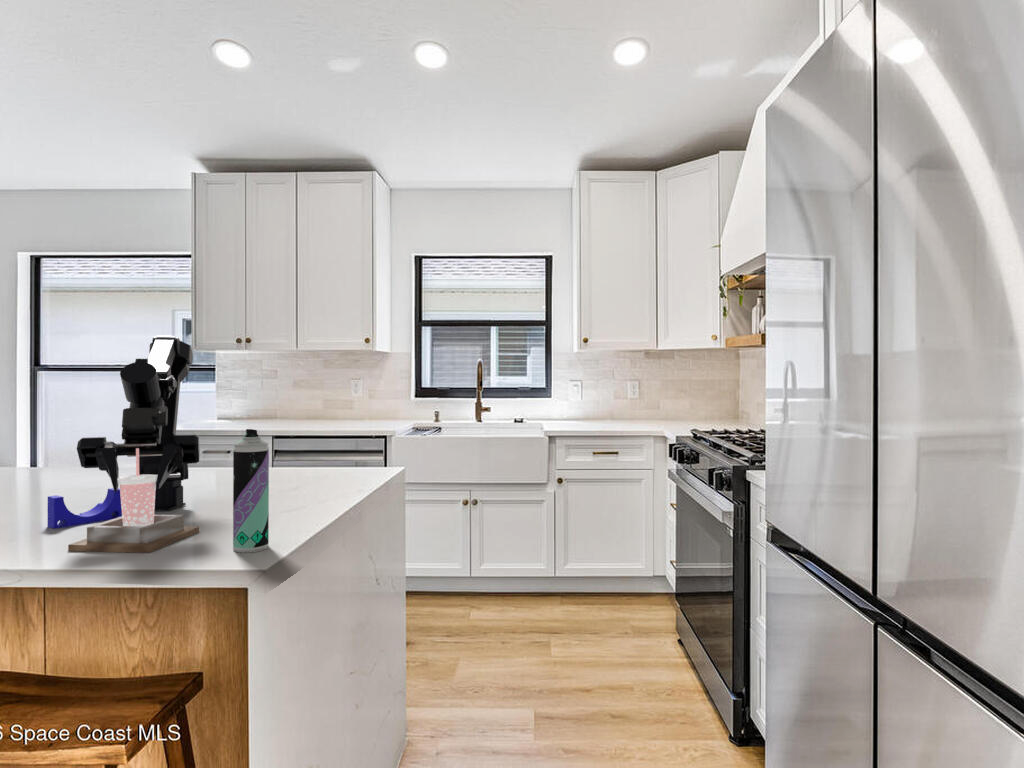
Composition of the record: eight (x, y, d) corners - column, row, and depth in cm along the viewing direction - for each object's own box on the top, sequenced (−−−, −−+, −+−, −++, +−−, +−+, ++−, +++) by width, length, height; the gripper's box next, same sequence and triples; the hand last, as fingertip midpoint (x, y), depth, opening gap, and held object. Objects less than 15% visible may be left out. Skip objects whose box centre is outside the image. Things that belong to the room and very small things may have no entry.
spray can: (225, 551, 102) (225, 429, 102) (248, 542, 107) (249, 427, 107) (253, 553, 100) (253, 430, 100) (275, 545, 106) (275, 428, 106)
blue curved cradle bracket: (112, 515, 129) (112, 487, 129) (122, 518, 127) (122, 489, 127) (44, 526, 119) (44, 495, 119) (54, 529, 117) (54, 498, 117)
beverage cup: (155, 530, 107) (154, 449, 107) (114, 534, 105) (112, 451, 104) (161, 522, 112) (160, 445, 112) (122, 525, 110) (121, 447, 110)
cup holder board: (68, 550, 102) (68, 529, 102) (126, 530, 116) (126, 511, 116) (149, 552, 101) (149, 531, 101) (199, 531, 115) (199, 513, 115)
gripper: (79, 391, 108) (62, 463, 98) (198, 391, 116) (195, 457, 106) (88, 432, 115) (74, 503, 105) (200, 429, 123) (197, 495, 113)
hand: (136, 488), depth 107 cm, fingers closed on beverage cup, 6 cm apart
